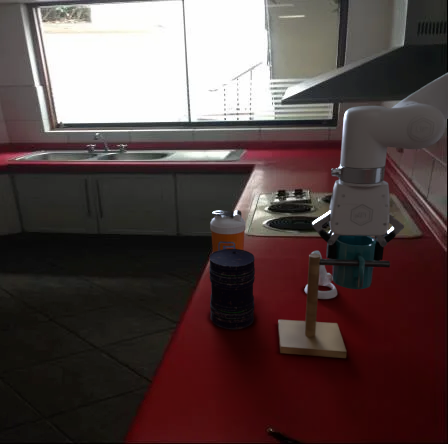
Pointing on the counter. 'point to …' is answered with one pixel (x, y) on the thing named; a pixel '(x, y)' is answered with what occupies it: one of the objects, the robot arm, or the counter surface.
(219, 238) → the shaker bottle
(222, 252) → the storage jar
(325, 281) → the vr controller
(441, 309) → the counter surface
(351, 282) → the mug
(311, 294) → the mug stand
